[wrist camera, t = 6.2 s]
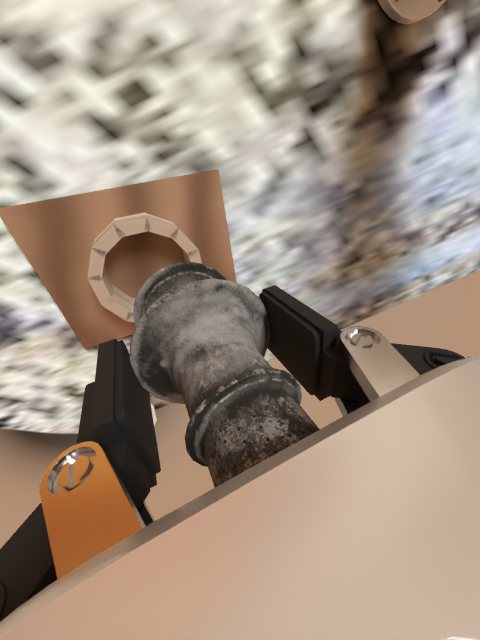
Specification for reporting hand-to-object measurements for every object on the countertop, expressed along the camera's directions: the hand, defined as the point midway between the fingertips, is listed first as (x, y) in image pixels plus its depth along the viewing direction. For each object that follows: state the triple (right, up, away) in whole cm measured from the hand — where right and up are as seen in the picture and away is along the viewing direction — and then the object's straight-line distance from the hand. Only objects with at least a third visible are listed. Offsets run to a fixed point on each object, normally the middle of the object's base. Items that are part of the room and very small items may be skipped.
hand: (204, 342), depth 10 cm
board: (-8, +7, +15) cm, 18 cm away
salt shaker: (-1, +1, +3) cm, 3 cm away
